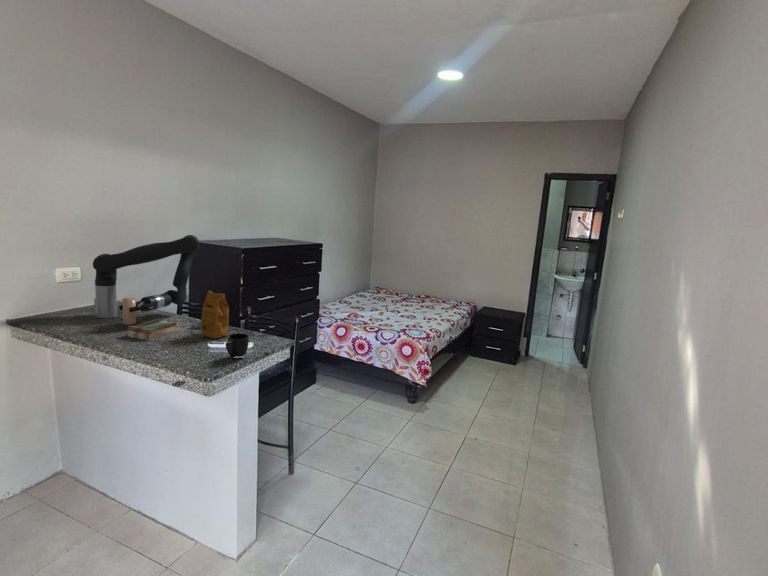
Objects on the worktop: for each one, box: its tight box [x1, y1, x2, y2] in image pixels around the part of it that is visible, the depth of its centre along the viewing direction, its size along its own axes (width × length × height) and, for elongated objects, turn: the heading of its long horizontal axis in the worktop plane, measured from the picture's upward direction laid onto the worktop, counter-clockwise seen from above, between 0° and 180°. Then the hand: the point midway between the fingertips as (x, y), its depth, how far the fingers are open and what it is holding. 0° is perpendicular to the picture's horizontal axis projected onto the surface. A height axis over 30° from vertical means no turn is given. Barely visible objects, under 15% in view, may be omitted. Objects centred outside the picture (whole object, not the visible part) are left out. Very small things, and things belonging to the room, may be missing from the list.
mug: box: [225, 332, 250, 359], centre depth 177 cm, size 8×12×10 cm
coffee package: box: [200, 290, 230, 340], centre depth 204 cm, size 10×12×22 cm
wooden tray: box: [126, 318, 182, 341], centre depth 201 cm, size 12×20×5 cm, turn 165°
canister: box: [122, 297, 137, 325], centre depth 203 cm, size 6×6×12 cm
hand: (125, 309), depth 201 cm, fingers closed on canister, 5 cm apart
